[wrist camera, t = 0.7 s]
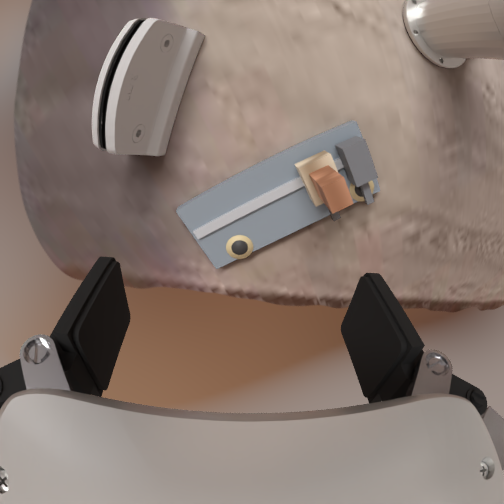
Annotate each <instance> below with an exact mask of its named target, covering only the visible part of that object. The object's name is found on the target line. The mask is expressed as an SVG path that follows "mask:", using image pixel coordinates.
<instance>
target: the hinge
mask: <svg viewBox="0 0 504 504" xmlns="http://www.w3.org/2000/svg"><path fill="white" fill-rule="evenodd" d="M204 37H205V35H204V34H202V33H201V32H199V31H196V30H193V29H190V28H186V27H183V26H180V25H177V24H174V23H170V22H167V21H163V20H160V19H155V18H148V19H145V18H138V19H135V20H131V21H129V22H128V23H127V24H126V26H125V27H124V28H123V30H122V31H121V32H120V34H119V35H118V37H117V38H116V40H115V42H114V43H113V45H112V47H111V49H110V51H109V53H108V55H107V57H106V59H105V62H104V64H103V67H102V70H101V72H100V76H99V79H98V82H97V86H96V91H95V96H94V102H93V110H92V136H93V143H94V145H95V146H96V147H98V148H99V149H100V150H102V151H108V153H110V154H118V155H151V156H162V155H165V153H166V149H167V146H168V142H169V138H170V135H171V131H172V128H173V124H174V121H175V118H176V114H177V111H178V108H179V105H180V102H181V99H182V96H183V93H184V90H185V87H186V84H187V81H188V78H189V75H190V73H191V70H192V67H193V64H194V62H195V59H196V57H197V54H198V51H199V49H200V46H201V44H202V42H203V39H204Z"/></svg>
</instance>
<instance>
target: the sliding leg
mask: <svg viewBox="0 0 504 504" xmlns="http://www.w3.org/2000/svg"><path fill="white" fill-rule="evenodd" d="M294 165H295V167H296V169H297V171H298V173H299V175H300V177H301V179H302V181H303V184H304V186H305V188H306V190H307V192H308V194H309V197H310V199H311V201H312V202H313V203H314V205H315V206H316V207H317V206H319V205H321V204H323V203H324V204H325V205H326V206H327V208H328V210H329V213H330V215H331V218H332V219H333V221H335V220H337V219H339V218H341V217H340V214H339V212H338V211H340V210H342V209H344V208H346V207H348V206H350V205H352V204H354V203H353V200H352V198H351V195H350V192H349V189H348V187H347V184H346V181H345V179H344V177H343V176H342V175H340V174H339V173H338V170H337V168H336V165H335V163H334V160H333V158H332V156H331V154H330V153H328V152H326V151H325V150H324V151H322V152H320V153H317V154H315V155H313V156H311V157H309V158H307V159H304V160H302V161H300V162H298V163H296V164H294Z"/></svg>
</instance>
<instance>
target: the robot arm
mask: <svg viewBox="0 0 504 504" xmlns="http://www.w3.org/2000/svg"><path fill="white" fill-rule="evenodd" d="M403 18H404V23H405V26H406V29H407V31H408V34H409V36H410V38H411V39H412V41H413V43H414V44H415V46H416V47H417V48H418V50H419V51H420V52H421V53H422V54H423V55H424V56H425V57H426V58H427V59H428V60H430V61H431V62H433V63H434V64H436V65H438V66H440V67H444V68H456V67H459V66H461V65H462V64H463V63H464V62H465V60H466V58H484V59H500V60H504V0H406V2H405V4H404V7H403ZM129 322H130V311H129V307H128V303H127V298H126V293H125V289H124V284H123V279H122V273H121V268H120V263H119V262H116V260H115V258H112V257H99V259H98V260H97V261H96V263H95V264H94V266H93V267H92V269H91V270H90V272H89V273H88V275H87V276H86V278H85V279H84V281H83V282H82V284H81V285H80V287H79V288H78V290H77V291H76V293H75V295H74V296H73V298H72V299H71V301H70V303H69V305H68V306H67V308H66V309H65V311H64V313H63V314H62V316H61V318H60V319H59V321H58V323H57V325H56V326H55V328H54V330H53V332H52V334H51V335H50V337H49V336H46V335H35V336H33V337H31V338H29V339H28V340H27V341H26V342H25V343H24V344H23V346H22V347H21V350H20V359H18V360H16V361H14V362H12V363H10V364H8V365H6V366H4V367H1V368H0V504H504V474H503V469H504V419H503V418H502V417H501V416H500V415H499V414H498V413H497V412H496V411H495V410H494V409H492V408H491V406H489V407H488V408H487V400H486V397H485V395H484V393H483V392H482V391H481V390H480V389H478V388H477V387H475V386H473V385H471V384H470V383H468V382H466V381H464V380H462V379H460V378H459V377H457V376H455V375H453V374H452V364H451V362H450V360H449V359H448V357H447V356H446V355H445V354H443V353H442V352H440V351H437V350H427V351H426V352H423V350H422V349H423V347H424V344H423V342H422V340H421V338H420V337H419V335H418V333H417V332H416V330H415V328H414V327H413V325H412V323H411V321H410V320H409V318H408V317H407V315H406V313H405V312H404V310H403V308H402V307H401V305H400V304H399V302H398V301H397V299H396V297H395V296H394V294H393V293H392V291H391V290H390V288H389V287H388V285H387V284H386V282H385V281H384V279H383V278H382V276H381V275H380V274H378V273H366V274H365V275H364V276H362V277H361V278H360V280H359V282H358V285H357V288H356V290H355V293H354V295H353V298H352V300H351V303H350V305H349V308H348V310H347V313H346V315H345V317H344V320H343V322H342V325H341V332H342V335H343V338H344V341H345V344H346V346H347V349H348V351H349V354H350V357H351V360H352V363H353V366H354V368H355V371H356V374H357V377H358V380H359V383H360V386H361V389H362V392H363V395H364V396H365V397H367V398H368V401H369V404H364V405H357V406H351V407H344V408H335V409H326V410H316V411H305V412H288V413H217V412H201V411H188V410H178V409H168V408H161V407H154V406H147V405H141V404H135V403H129V402H122V401H118V400H112V399H107V398H102V397H101V396H102V392H103V390H107V388H108V385H109V382H110V379H111V375H112V372H113V369H114V366H115V363H116V360H117V357H118V354H119V351H120V348H121V345H122V342H123V339H124V337H125V334H126V331H127V328H128V326H129ZM94 395H95V396H94ZM98 396H99V397H98ZM381 401H382V402H381Z"/></svg>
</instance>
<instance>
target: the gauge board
mask: <svg viewBox="0 0 504 504" xmlns="http://www.w3.org/2000/svg"><path fill="white" fill-rule="evenodd" d="M324 150H325V151H326V152H328V153H330V154H331V156H332V158H333V160H334V163H335V165H336V168H337V170H338V173H339V174H340V175H342V176H343V177H344V179H345V181H346V184H347V187H348V189H349V192H350V195H351V198H352V200H353V203H356V202H358V201H365V203H366V204H367V205H368V204H370V203H372V202H374V199H373V196H372V194H375V193H377V192H379V191H380V188H379V184H378V181H377V178H378V176H377V173H376V170H375V167H374V164H373V161H372V158H371V155H370V152H369V149H368V146H367V143H366V141H365V139H363V137H362V135H361V132H360V129H359V127H358V124H357V122H356V121H349V122H347V123H344V124H342V125H340V126H337V127H335V128H332V129H330V130H328V131H326V132H323V133H321V134H319V135H316V136H314V137H312V138H310V139H308V140H305V141H303V142H301V143H299V144H297V145H295V146H292V147H290V148H288V149H286V150H284V151H282V152H280V153H278V154H276V155H274V156H272V157H270V158H268V159H266V160H264V161H262V162H260V163H258V164H256V165H254V166H252V167H250V168H248V169H246V170H244V171H242V172H240V173H238V174H236V175H234V176H232V177H231V178H229V179H227V180H225V181H223V182H221V183H219V184H218V185H216V186H214V187H212V188H210V189H209V190H207V191H205V192H203V193H201V194H200V195H198V196H196V197H194V198H193V199H191V200H189V201H187V202H186V203H184V204H182V205H181V206H179V207H178V208H177V210H176V212H177V214H178V215H179V217H180V218H181V219H182V221H183V222H184V224H185V225H186V227H187V228H188V230H189V231H190V232H191V234H192V235H193V237H194V238H195V240H196V241H197V242H198V244H199V245H200V247H201V248H202V250H203V251H204V252H205V254H206V255H207V257H208V258H209V259H210V261H211V262H212V264H213V265H214V266H215V268H216V269H218V268H220V267H222V266H224V265H226V264H228V263H230V262H233V261H235V260H237V259H244V258H246V257H248V256H249V255H250V254H251V253H252V252H253V251H256V250H258V249H260V248H262V247H264V246H266V245H268V244H270V243H272V242H274V241H276V240H278V239H281V238H283V237H285V236H287V235H289V234H291V233H293V232H295V231H297V230H299V229H301V228H304V227H306V226H308V225H310V224H312V223H314V222H316V221H318V220H320V219H322V218H324V217H327V216H329V215H330V213H329V210H328V208H327V206H326V205H325V204H324V203H323V204H321V205H319V206H317V207H316V206H315V205H314V203H313V202H312V201H311V199H310V197H309V194H308V192H307V190H306V188H305V186H304V184H303V181H302V179H301V177H300V175H299V173H298V171H297V169H296V167H295V165H294V164H296V163H298V162H300V161H302V160H304V159H307V158H309V157H311V156H313V155H315V154H317V153H320V152H322V151H324Z"/></svg>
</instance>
